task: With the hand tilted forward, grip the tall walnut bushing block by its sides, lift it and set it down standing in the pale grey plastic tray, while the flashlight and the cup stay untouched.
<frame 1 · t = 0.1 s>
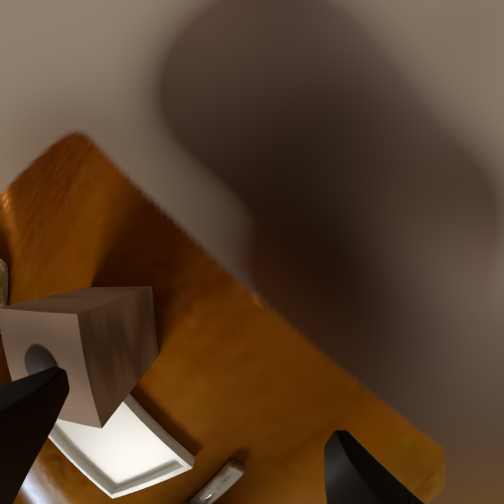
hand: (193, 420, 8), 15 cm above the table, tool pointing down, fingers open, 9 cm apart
flashlight: (212, 485, 23), on the table, tilted 5°
tray: (107, 436, 22), on the table
bushing block: (123, 321, 23), on the table
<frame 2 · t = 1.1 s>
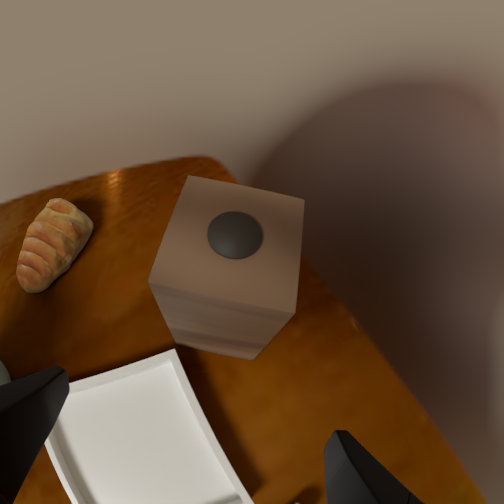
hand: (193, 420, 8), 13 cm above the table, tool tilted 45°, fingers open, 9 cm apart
tray: (133, 455, 16), on the table
pastry: (59, 250, 24), on the table
bushing block: (221, 317, 23), on the table
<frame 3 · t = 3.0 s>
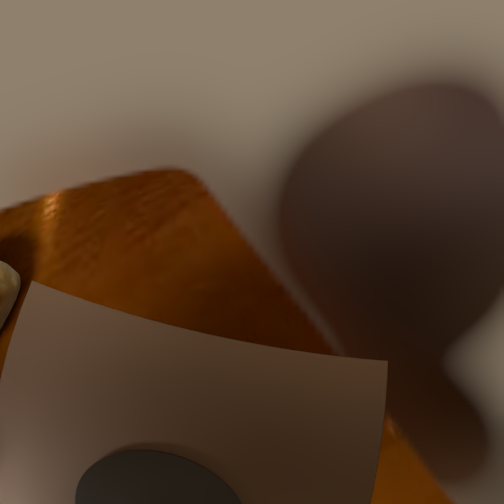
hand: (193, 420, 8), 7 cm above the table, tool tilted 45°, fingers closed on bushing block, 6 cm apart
bushing block: (195, 437, 13), on the table, touching gripper
when the fingers open (8 cm above the table, at t = 6.4 s): bushing block drops 1 cm, resting on tray.
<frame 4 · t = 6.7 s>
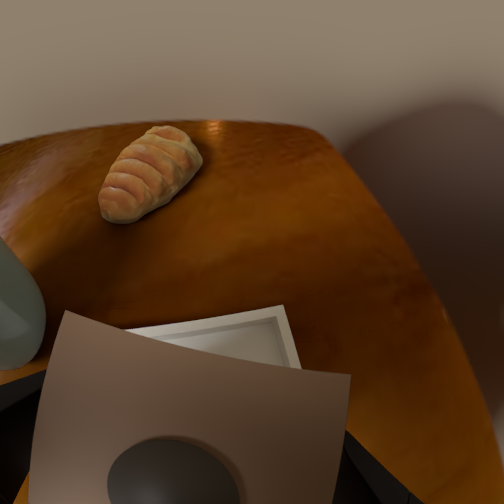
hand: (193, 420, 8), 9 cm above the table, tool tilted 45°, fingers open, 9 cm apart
cup: (21, 328, 15), on the table
tray: (197, 434, 14), on the table
pastry: (153, 184, 24), on the table
bushing block: (197, 435, 14), resting on tray
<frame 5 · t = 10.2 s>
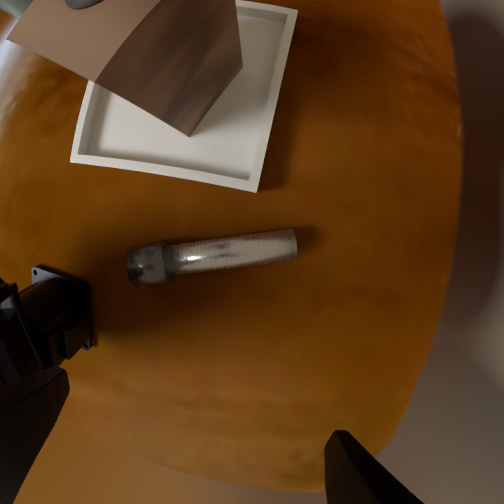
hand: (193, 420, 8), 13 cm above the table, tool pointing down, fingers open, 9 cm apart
flashlight: (219, 250, 20), on the table
cup: (84, 7, 15), on the table
tray: (182, 82, 17), on the table
bushing block: (180, 80, 16), resting on tray
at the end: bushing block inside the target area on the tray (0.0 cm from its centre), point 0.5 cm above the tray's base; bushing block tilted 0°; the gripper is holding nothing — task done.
